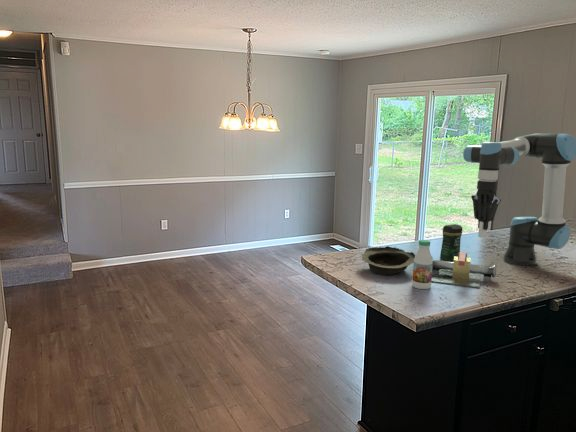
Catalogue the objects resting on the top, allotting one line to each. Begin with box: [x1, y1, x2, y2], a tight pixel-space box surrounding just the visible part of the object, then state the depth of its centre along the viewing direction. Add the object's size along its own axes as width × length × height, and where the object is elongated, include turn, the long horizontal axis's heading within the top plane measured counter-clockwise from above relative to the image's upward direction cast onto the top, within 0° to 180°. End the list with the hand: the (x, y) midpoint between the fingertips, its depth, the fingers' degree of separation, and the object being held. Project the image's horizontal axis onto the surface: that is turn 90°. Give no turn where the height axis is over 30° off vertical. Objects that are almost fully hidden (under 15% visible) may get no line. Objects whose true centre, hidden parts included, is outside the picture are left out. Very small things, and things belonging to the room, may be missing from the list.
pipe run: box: [431, 256, 497, 289], centre depth 209 cm, size 32×22×8 cm
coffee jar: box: [439, 223, 463, 262], centre depth 236 cm, size 10×8×19 cm
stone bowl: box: [361, 245, 416, 276], centre depth 218 cm, size 25×25×9 cm
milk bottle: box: [411, 239, 434, 290], centre depth 196 cm, size 8×8×20 cm
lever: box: [458, 251, 468, 266], centre depth 204 cm, size 16×4×3 cm, turn 158°
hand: (481, 236), depth 194 cm, fingers closed
